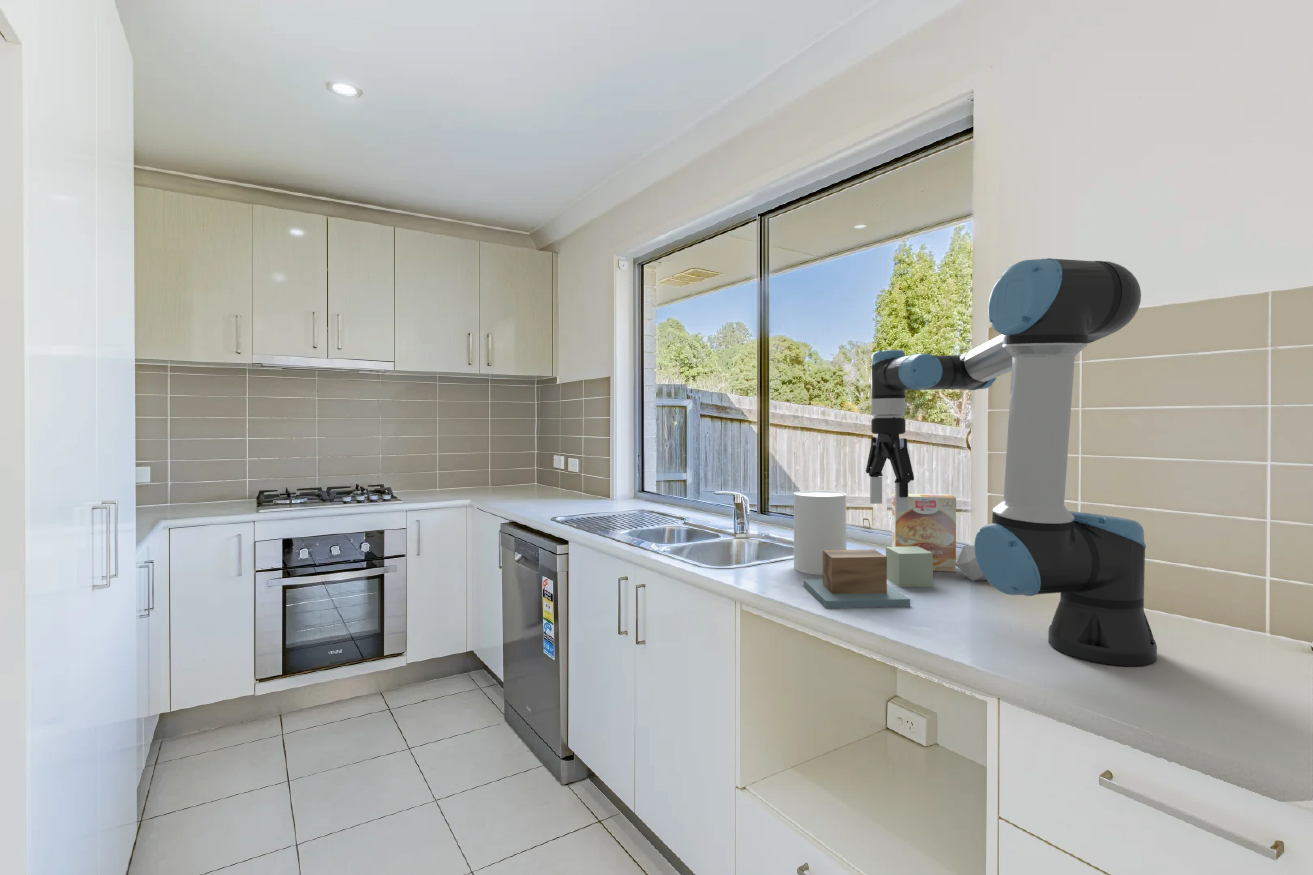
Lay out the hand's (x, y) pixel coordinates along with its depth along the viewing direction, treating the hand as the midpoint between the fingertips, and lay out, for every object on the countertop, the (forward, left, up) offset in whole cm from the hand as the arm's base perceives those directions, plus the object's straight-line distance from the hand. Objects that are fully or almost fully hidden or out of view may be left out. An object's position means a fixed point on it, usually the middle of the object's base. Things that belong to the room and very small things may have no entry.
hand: (888, 507), depth 149 cm
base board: (-6, +11, -19) cm, 23 cm away
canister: (+20, +11, -19) cm, 29 cm away
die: (+6, -24, -19) cm, 31 cm away
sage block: (+4, -6, -19) cm, 20 cm away
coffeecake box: (+18, -16, -19) cm, 31 cm away
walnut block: (-6, +10, -17) cm, 21 cm away
